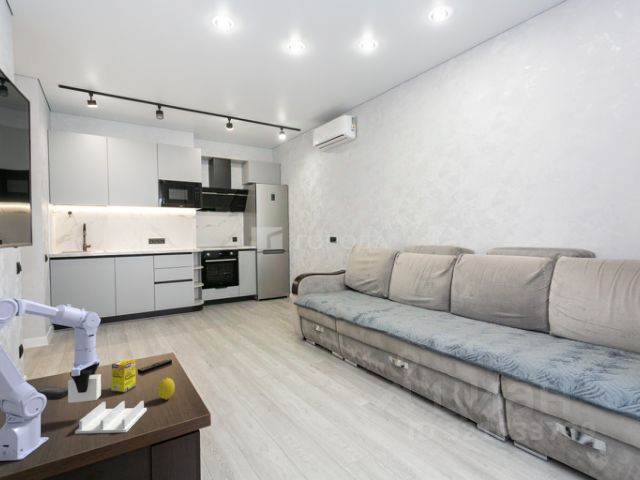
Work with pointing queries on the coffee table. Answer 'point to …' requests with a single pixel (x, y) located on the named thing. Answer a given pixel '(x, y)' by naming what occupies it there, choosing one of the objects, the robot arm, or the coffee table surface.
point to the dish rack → (110, 419)
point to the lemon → (166, 388)
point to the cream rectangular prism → (90, 394)
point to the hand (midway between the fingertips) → (85, 389)
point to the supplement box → (123, 376)
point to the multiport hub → (54, 392)
